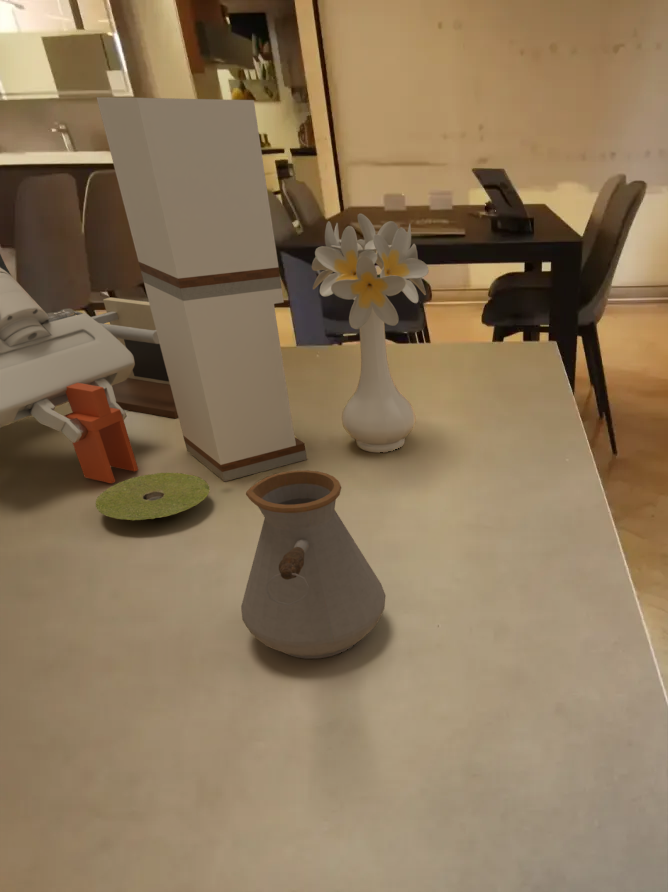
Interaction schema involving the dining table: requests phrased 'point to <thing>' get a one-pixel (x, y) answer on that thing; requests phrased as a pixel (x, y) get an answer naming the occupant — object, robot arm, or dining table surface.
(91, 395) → the clip
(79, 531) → the dining table surface
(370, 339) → the flower vase
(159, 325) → the white striped pedestal
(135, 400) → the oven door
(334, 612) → the coffee pot
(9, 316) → the robot arm
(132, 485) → the mat
